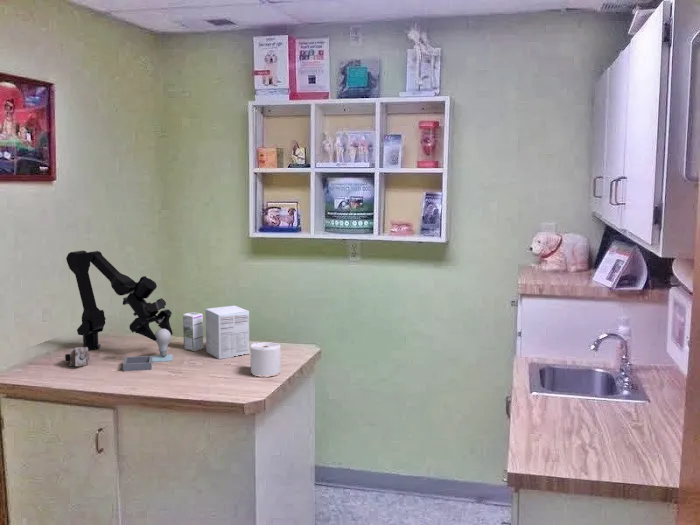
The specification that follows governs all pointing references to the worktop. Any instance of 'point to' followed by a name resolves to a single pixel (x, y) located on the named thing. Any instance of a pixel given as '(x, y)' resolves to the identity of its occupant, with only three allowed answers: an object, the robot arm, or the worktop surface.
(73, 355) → the caster wheel
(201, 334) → the syrup box
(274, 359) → the toilet tissue
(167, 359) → the coaster
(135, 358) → the grey square frame
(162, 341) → the lightbulb
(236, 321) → the supplement box
